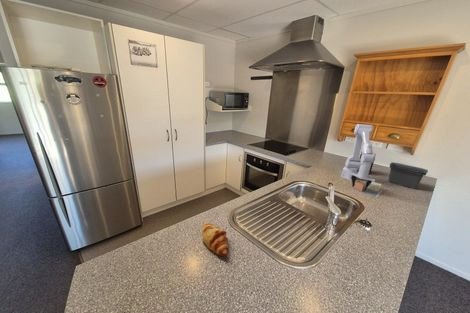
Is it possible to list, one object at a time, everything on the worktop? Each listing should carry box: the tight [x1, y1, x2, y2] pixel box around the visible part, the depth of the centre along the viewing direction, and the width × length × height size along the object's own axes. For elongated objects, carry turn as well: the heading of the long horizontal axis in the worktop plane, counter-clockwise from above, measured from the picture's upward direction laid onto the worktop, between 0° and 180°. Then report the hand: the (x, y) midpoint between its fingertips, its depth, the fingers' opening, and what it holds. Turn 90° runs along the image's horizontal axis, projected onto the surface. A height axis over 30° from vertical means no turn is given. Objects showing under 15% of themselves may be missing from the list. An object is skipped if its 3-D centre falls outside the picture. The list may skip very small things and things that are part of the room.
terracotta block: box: [354, 180, 366, 192], centre depth 130 cm, size 5×5×5 cm
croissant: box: [201, 221, 229, 258], centre depth 78 cm, size 21×10×8 cm, turn 31°
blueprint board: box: [351, 181, 384, 199], centre depth 131 cm, size 15×20×5 cm
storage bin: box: [388, 161, 429, 190], centre depth 143 cm, size 21×16×14 cm
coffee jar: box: [357, 151, 377, 175], centre depth 161 cm, size 11×11×18 cm
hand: (359, 188), depth 130 cm, fingers open, 7 cm apart
